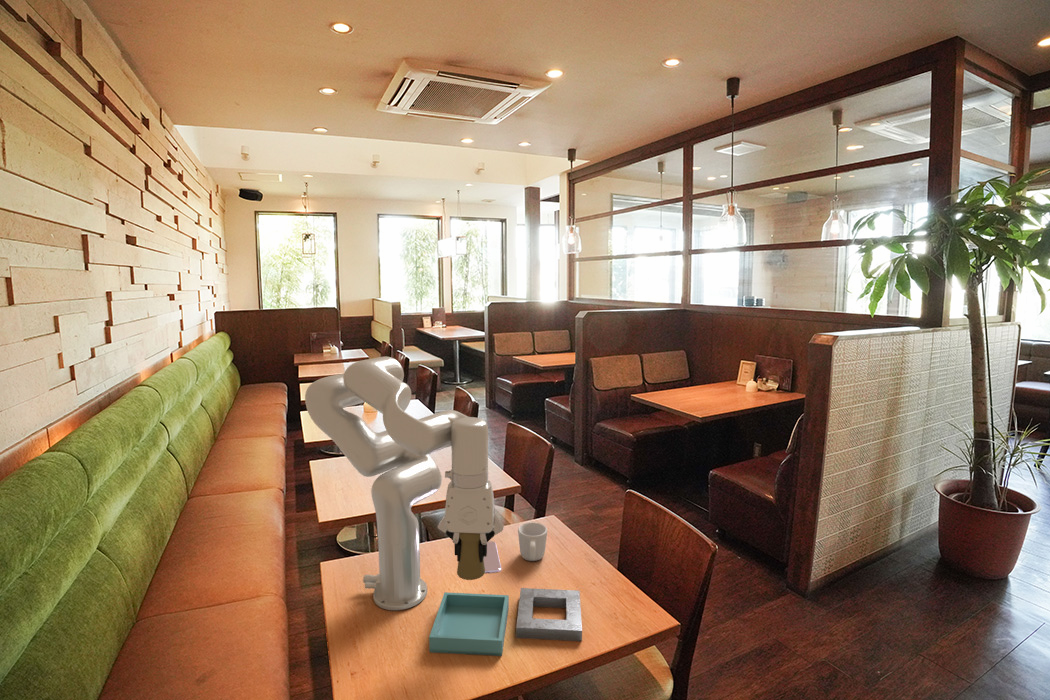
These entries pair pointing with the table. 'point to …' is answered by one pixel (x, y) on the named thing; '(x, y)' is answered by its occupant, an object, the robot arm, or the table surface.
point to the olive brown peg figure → (470, 557)
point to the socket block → (549, 627)
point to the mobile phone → (492, 558)
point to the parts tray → (470, 624)
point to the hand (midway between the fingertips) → (470, 557)
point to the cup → (532, 540)
